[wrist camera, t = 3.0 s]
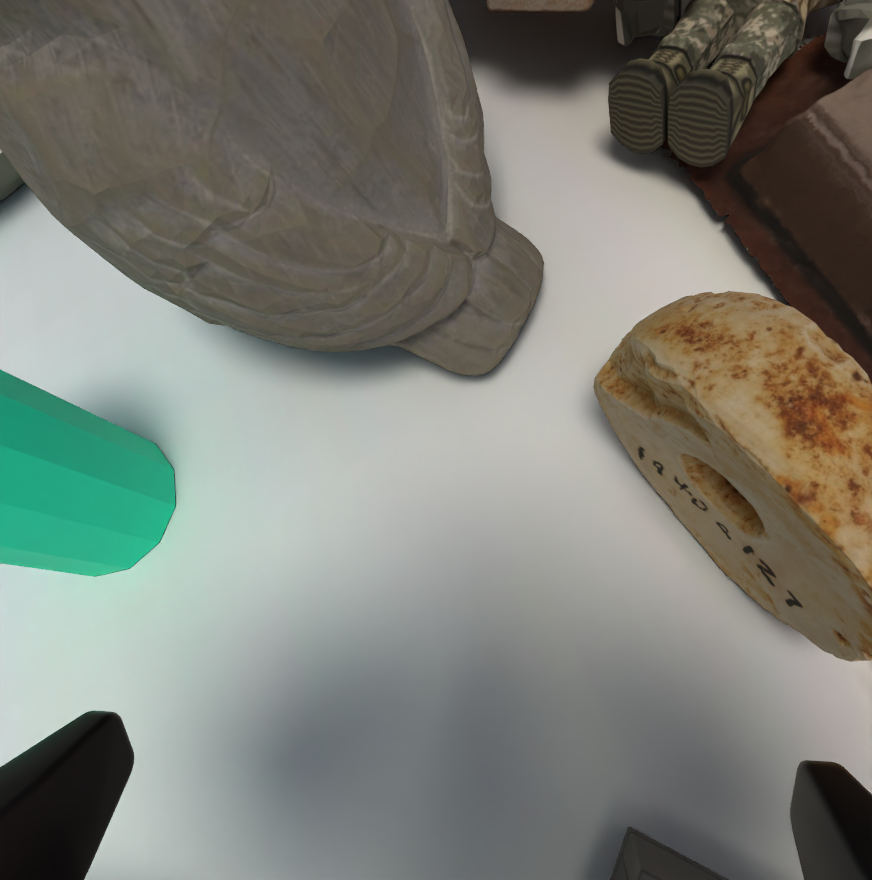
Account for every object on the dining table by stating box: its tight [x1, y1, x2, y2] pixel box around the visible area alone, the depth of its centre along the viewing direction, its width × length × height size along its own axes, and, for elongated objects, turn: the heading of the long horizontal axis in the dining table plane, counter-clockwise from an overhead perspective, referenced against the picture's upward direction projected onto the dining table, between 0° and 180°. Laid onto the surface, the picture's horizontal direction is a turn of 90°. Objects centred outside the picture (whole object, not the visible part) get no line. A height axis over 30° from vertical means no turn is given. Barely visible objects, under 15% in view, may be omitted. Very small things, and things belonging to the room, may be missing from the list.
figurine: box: [0, 0, 544, 375], centre depth 18 cm, size 14×16×20 cm
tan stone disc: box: [594, 291, 872, 661], centre depth 17 cm, size 10×4×10 cm, turn 33°
